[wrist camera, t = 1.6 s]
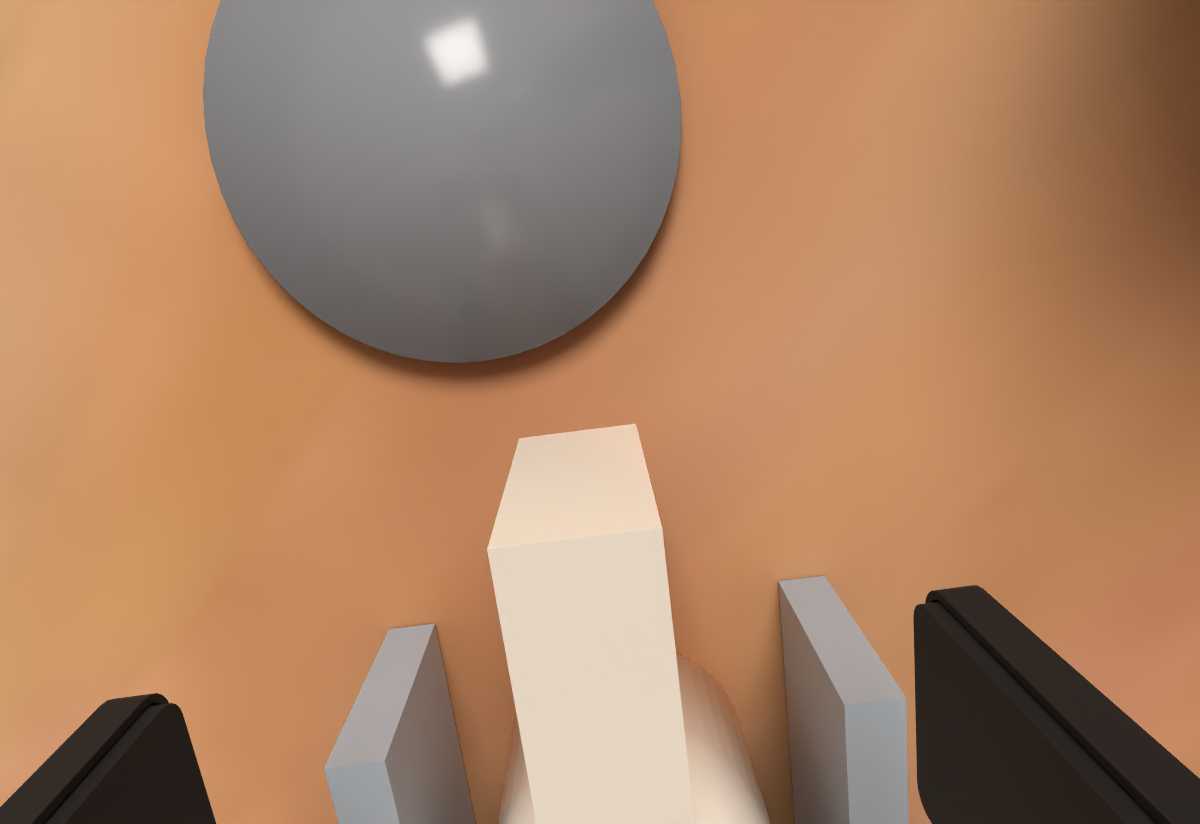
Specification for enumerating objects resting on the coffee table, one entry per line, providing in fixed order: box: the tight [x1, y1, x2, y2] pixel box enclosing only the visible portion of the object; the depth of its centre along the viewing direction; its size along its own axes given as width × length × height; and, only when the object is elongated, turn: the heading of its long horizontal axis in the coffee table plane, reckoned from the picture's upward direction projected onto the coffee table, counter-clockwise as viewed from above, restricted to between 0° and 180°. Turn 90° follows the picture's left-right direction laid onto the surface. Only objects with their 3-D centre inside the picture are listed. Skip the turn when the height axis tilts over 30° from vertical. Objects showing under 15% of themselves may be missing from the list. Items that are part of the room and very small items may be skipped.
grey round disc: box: [203, 0, 681, 363], centre depth 16 cm, size 10×10×1 cm
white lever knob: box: [487, 424, 771, 824], centre depth 15 cm, size 13×6×9 cm, turn 7°
